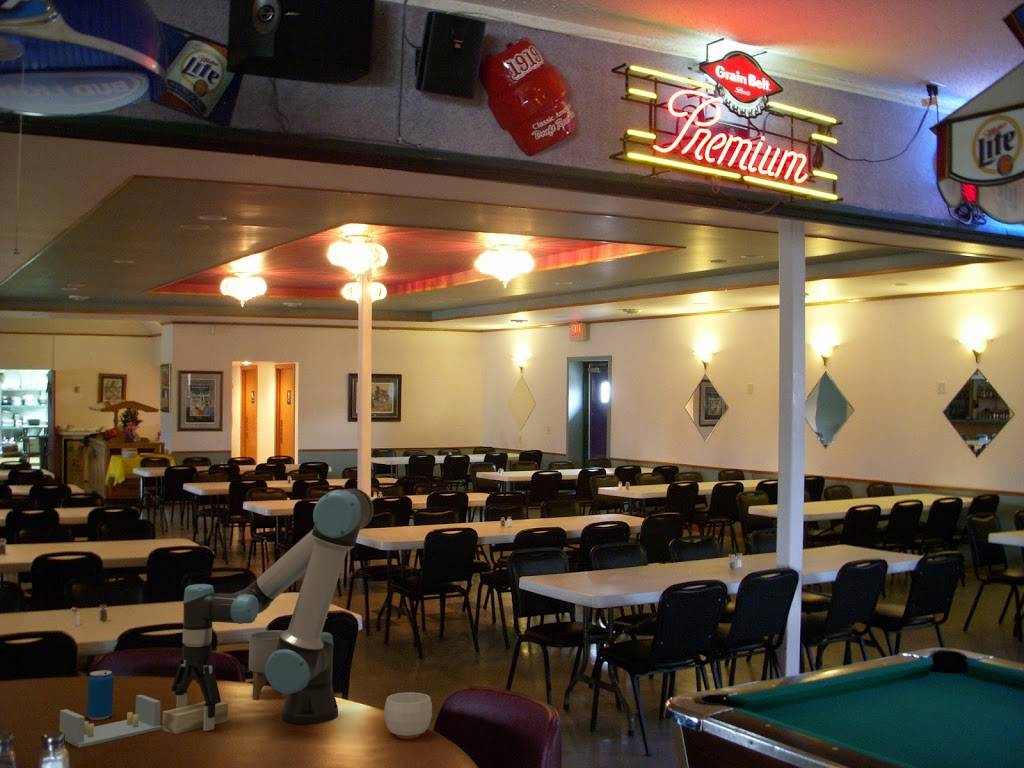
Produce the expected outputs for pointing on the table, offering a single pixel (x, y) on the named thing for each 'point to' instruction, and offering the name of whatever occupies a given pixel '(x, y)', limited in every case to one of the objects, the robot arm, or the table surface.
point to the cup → (408, 714)
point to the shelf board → (191, 717)
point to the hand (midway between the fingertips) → (194, 724)
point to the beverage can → (100, 695)
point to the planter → (261, 657)
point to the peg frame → (111, 724)
